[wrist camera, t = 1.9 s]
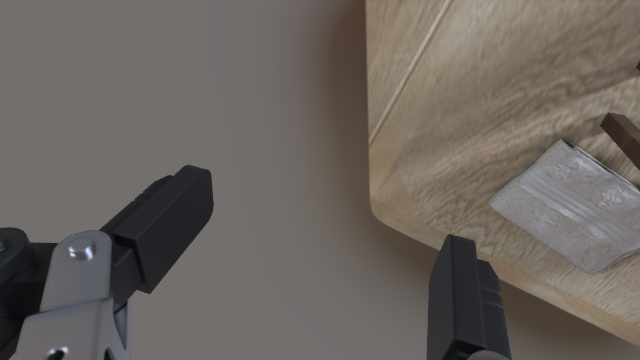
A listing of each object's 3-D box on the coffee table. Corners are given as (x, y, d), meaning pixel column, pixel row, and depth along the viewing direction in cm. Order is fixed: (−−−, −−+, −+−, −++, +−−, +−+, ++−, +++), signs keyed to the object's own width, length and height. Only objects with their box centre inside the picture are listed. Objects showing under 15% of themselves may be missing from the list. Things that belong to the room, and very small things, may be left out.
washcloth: (589, 266, 49) (598, 284, 47) (482, 198, 48) (485, 212, 46) (681, 213, 42) (696, 230, 40) (558, 132, 41) (566, 144, 39)
